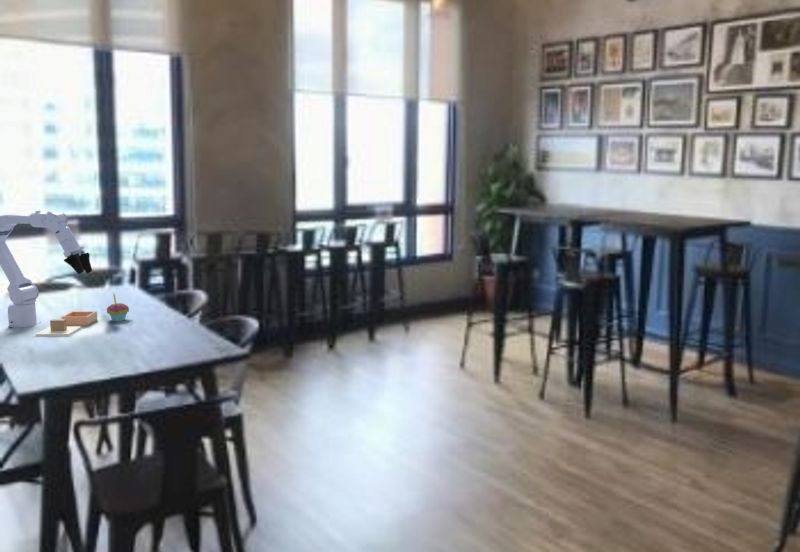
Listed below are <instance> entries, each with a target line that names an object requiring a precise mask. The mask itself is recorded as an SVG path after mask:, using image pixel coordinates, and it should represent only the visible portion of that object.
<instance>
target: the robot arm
mask: <svg viewBox="0 0 800 552" xmlns="http://www.w3.org/2000/svg"><path fill="white" fill-rule="evenodd" d="M18 224H23V225H25V224H27V225H28V224H29V225H30V226H31V227H33V228H47V229H49V230H50V231H52V233H53V234H54V235H55V237H56V240H57V241H58V243H59V244H60V246H61V248H62V250H63V253H62V254H63V255H64V257H65V258H64V259H63V262H65V263H66V264H68V265H69V266H70V267H71V268H72V269H73V270H74V271H75V272H76V274H78V275H80V274H83V273H86V274H90V273H91V272H93V268H92V265H91V261H90V259H91V258H90V255H91V254H90V253H89V252H86V251H85V250H84V249H85V247H84V246H80V244H79V243H78V241H77V238H76V237H75V236H74V234H73V232H72V230H71V228H70V227H69V226H70V225H68V217H67V214H66V213H64V212H61V211H56V212H52V210H49V211H48V210H47V212H42V211H41V210H35V211H34V212H32V213H31V214H29V215H27V214H15V213H13V214H4V215H0V268H1V269H2V271H3V273H4V275H5V277H6V279H7V280H8V282H9V284H8V286H7V289H6V290H7V292H8V296H9V299H10V301H11V302H12V303H9V305H8V307H7V318H8V325H7V328H15V327H16V328H22V327H24V328H25V327H26V328H28V327H29V328H33V327H35V326H37V325H38V324H41V323H42V322H41V321H38V319H37V311H36V310H37V309H36V302H37V299H38V297H39V295H40V292H39V291H40V290H39V289H38V287H37V286H36V285H35V284H34V283H33V281H32V280H31V279H29V278H26V277H25V276H24V274H23V273H22V272H23V271H21V268H20V266H19V265H18V263H17V260H16V259H15V258H14V255H13V254H12V252H11V250H10V248H9V246H8V244H7V243H6V240H7V238H8V237H9V235H10V234H11V233H12V231H13V230H14V228H15V226H17V225H18Z"/></svg>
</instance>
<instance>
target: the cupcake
mask: <svg viewBox="0 0 800 552" xmlns="http://www.w3.org/2000/svg"><path fill="white" fill-rule="evenodd" d="M112 297H113V302H114V303H112V304H110V305H108V306H107V308H106V313H107V314H108V315H109V316H110V319H111V321H112V322H123V321H125V320H126V316H127V314H128V312H130V308H129V305H126V304H125V303H121V302H117V299H116V294H115V293H113V296H112Z"/></svg>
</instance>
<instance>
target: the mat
mask: <svg viewBox="0 0 800 552" xmlns="http://www.w3.org/2000/svg"><path fill="white" fill-rule="evenodd" d="M84 329H85V327H81V329H80V330H78V331H76V332H75V333H73V334H71V335H70V336H36V334H34V335H32V336H31V337H32V338H56V337H57V338H71V337H73V336H74V335H76V334H78V333H79V332H81V331H82V330H84Z"/></svg>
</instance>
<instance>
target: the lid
mask: <svg viewBox="0 0 800 552" xmlns="http://www.w3.org/2000/svg"><path fill="white" fill-rule="evenodd" d="M49 324H50V325H49V326H48V327H46V328H45V329H42V330H41V331H39V332H37V333H35V335H36V336H70V335H71V334H73V333H75V332H76V331H78V330H80V329H81V328H82V326H67V324H66V319H62V318H52V319H50V320H49Z"/></svg>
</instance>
